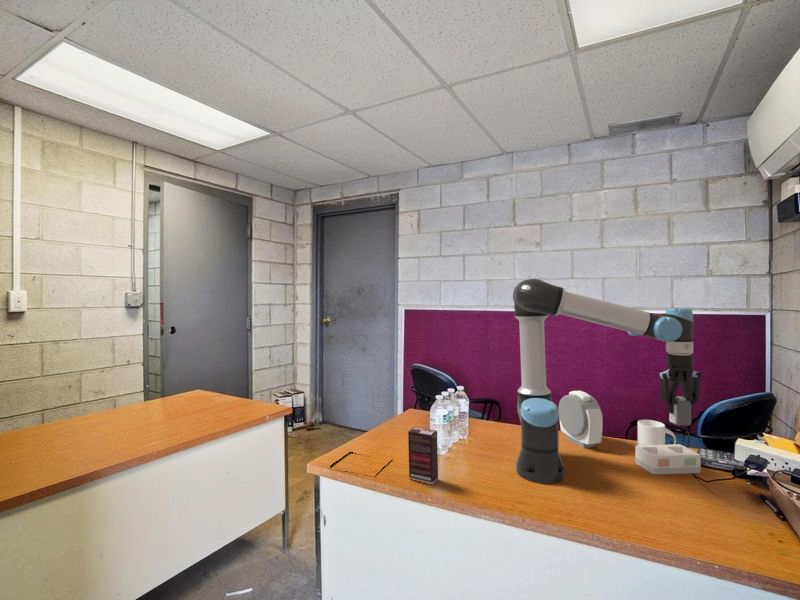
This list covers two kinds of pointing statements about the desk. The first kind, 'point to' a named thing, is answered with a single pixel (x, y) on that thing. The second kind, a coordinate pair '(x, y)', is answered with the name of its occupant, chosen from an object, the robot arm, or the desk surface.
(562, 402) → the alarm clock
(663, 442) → the mug
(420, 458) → the supplement box
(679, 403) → the plug
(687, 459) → the divided sorting tray
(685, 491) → the desk surface
